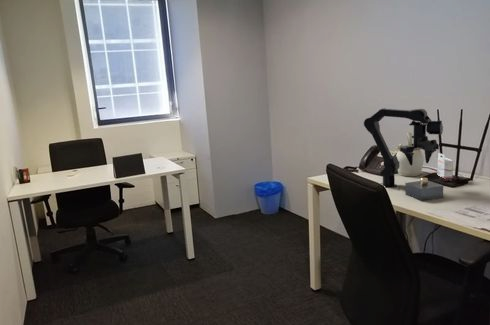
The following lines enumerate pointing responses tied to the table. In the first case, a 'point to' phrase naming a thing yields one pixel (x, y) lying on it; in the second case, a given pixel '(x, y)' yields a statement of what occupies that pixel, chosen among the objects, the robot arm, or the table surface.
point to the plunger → (423, 181)
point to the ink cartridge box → (444, 167)
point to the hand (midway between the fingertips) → (419, 164)
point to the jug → (404, 164)
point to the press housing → (424, 190)
